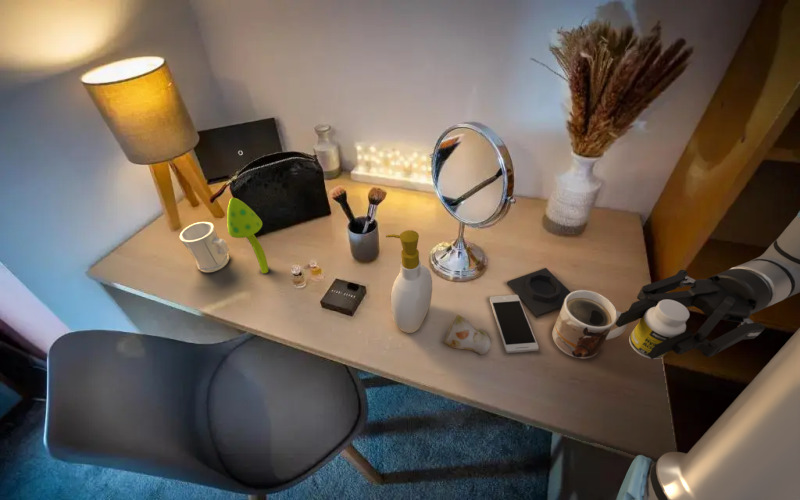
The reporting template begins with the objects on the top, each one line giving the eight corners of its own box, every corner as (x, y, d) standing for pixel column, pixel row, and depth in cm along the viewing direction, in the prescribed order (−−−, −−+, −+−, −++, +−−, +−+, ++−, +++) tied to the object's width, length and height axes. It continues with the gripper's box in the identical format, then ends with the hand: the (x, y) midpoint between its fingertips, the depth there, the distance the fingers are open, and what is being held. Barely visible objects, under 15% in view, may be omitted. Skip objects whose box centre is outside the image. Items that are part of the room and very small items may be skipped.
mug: (564, 312, 84) (578, 280, 76) (618, 340, 77) (638, 309, 70) (544, 341, 78) (556, 309, 71) (599, 374, 72) (619, 343, 64)
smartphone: (517, 296, 88) (517, 294, 87) (538, 350, 76) (539, 348, 76) (488, 298, 88) (489, 296, 87) (506, 353, 76) (506, 351, 76)
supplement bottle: (632, 357, 57) (658, 320, 51) (625, 329, 61) (648, 292, 54) (670, 363, 56) (701, 326, 49) (660, 335, 60) (688, 297, 53)
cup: (234, 247, 109) (219, 216, 101) (237, 265, 102) (220, 234, 94) (198, 258, 106) (179, 227, 98) (199, 277, 99) (178, 246, 91)
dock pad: (577, 302, 86) (580, 294, 84) (536, 318, 83) (538, 310, 81) (545, 270, 94) (547, 262, 92) (506, 283, 91) (508, 275, 89)
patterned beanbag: (488, 367, 74) (467, 343, 69) (452, 356, 81) (430, 334, 76) (500, 336, 78) (481, 311, 72) (464, 329, 85) (444, 306, 79)
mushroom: (246, 282, 97) (208, 208, 80) (254, 261, 103) (220, 189, 86) (276, 280, 97) (244, 206, 80) (282, 259, 103) (254, 186, 86)
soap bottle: (405, 291, 91) (399, 210, 74) (438, 300, 88) (440, 218, 71) (382, 335, 81) (369, 253, 64) (418, 347, 79) (415, 265, 61)
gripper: (792, 346, 54) (680, 402, 49) (682, 269, 68) (584, 307, 62) (828, 316, 49) (708, 375, 44) (702, 239, 62) (598, 278, 57)
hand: (636, 335), depth 53 cm, fingers closed on supplement bottle, 5 cm apart
